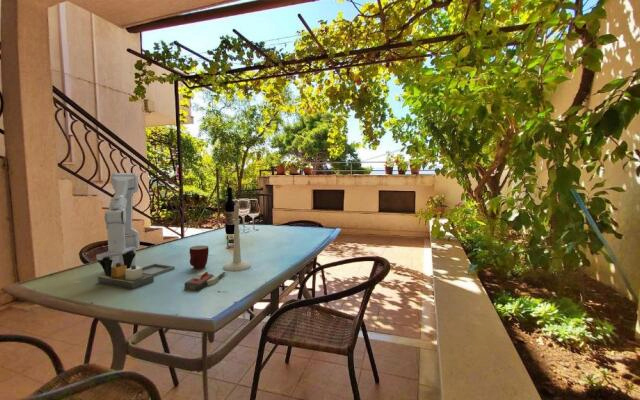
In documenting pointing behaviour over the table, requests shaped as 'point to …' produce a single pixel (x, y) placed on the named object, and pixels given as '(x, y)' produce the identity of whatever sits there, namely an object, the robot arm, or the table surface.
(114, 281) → the open box
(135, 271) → the twin plug
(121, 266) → the plug
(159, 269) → the tray
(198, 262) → the mug
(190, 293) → the table surface
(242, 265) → the candlestick
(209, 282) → the walkie-talkie
